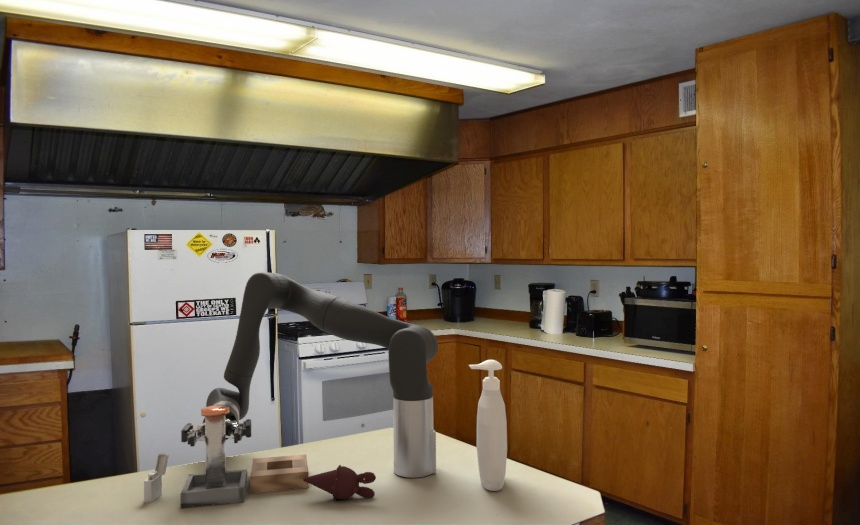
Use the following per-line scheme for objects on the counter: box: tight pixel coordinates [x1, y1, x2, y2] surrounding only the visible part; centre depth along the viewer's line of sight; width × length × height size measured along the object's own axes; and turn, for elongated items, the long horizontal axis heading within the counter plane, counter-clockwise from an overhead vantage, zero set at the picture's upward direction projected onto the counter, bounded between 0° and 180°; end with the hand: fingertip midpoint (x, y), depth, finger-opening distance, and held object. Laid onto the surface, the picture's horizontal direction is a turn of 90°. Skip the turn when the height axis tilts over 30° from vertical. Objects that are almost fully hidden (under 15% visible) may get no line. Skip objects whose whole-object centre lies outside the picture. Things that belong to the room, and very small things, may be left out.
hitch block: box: [249, 453, 310, 494], centre depth 135 cm, size 12×12×4 cm
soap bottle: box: [468, 359, 508, 492], centre depth 131 cm, size 14×8×27 cm, turn 0°
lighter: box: [143, 453, 169, 503], centre depth 127 cm, size 7×2×8 cm, turn 176°
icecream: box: [303, 464, 377, 501], centre depth 124 cm, size 7×7×15 cm
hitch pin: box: [200, 406, 229, 489], centre depth 127 cm, size 6×6×17 cm
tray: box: [180, 468, 248, 509], centre depth 127 cm, size 12×11×3 cm
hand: (214, 440), depth 125 cm, fingers open, 8 cm apart
